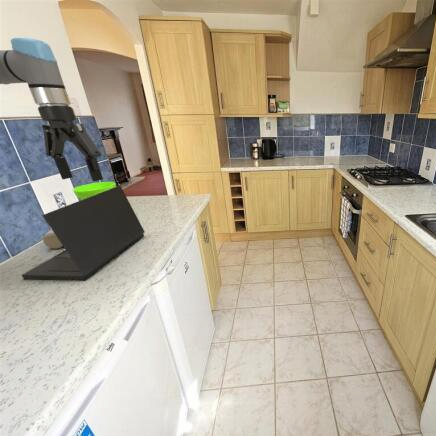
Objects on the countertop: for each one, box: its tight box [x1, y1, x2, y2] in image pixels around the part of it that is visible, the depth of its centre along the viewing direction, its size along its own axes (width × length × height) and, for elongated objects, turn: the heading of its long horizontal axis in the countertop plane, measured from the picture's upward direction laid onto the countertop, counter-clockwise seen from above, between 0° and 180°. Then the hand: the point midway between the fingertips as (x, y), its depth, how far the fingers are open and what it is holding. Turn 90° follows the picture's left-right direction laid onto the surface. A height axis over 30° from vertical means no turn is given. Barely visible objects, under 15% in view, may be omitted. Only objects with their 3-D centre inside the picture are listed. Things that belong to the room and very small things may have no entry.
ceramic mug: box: [42, 228, 64, 250], centre depth 97 cm, size 11×8×8 cm
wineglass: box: [72, 181, 117, 200], centre depth 115 cm, size 16×16×18 cm
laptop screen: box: [41, 185, 146, 276], centre depth 85 cm, size 21×30×1 cm
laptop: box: [21, 233, 145, 282], centre depth 90 cm, size 21×30×2 cm
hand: (82, 179), depth 77 cm, fingers open, 13 cm apart
